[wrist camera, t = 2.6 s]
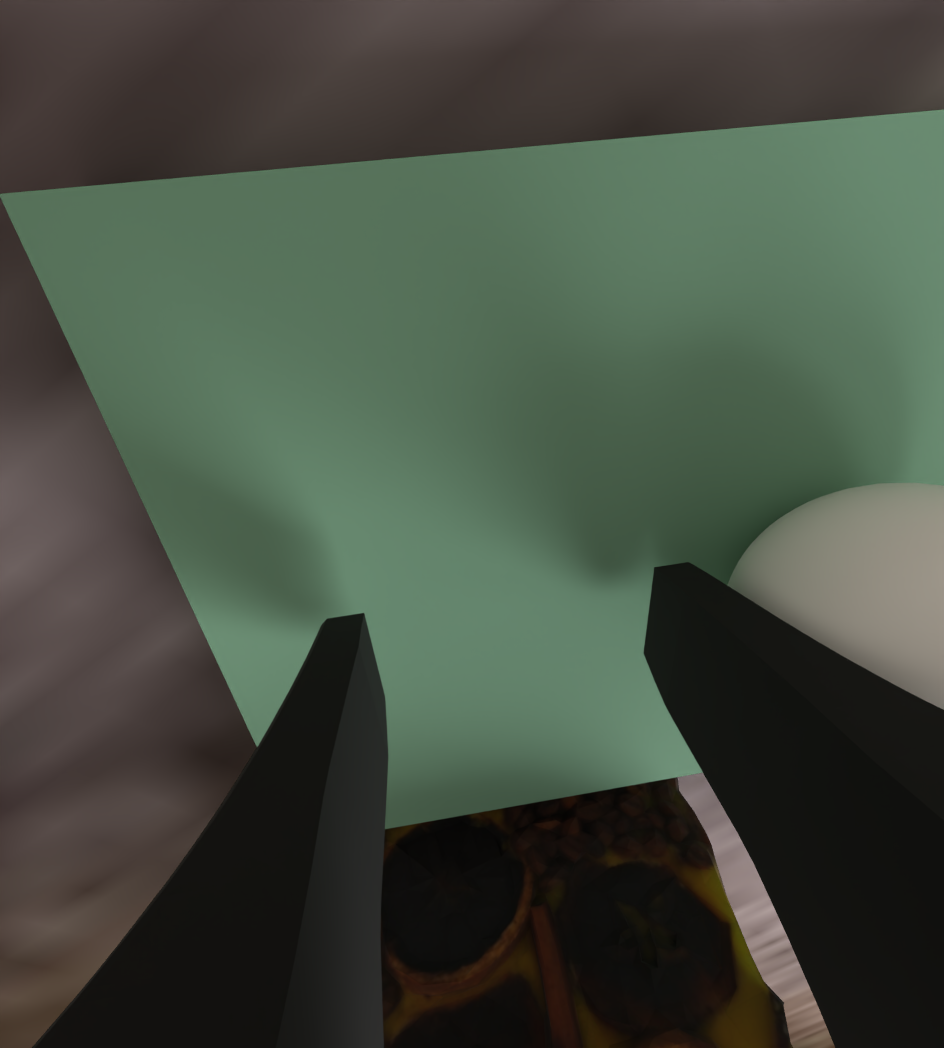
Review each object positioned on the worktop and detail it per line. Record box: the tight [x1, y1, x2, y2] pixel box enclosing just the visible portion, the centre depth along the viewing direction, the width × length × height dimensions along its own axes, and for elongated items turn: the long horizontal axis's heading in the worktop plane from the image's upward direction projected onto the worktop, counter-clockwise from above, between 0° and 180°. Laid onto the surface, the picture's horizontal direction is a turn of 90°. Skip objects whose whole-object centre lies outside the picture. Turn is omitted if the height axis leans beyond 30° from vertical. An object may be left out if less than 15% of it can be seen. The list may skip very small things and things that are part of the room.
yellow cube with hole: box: [380, 777, 793, 1048], centre depth 15 cm, size 10×10×10 cm
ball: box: [727, 483, 944, 710], centre depth 9 cm, size 5×5×5 cm
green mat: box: [0, 110, 944, 829], centre depth 12 cm, size 24×14×2 cm, turn 94°
